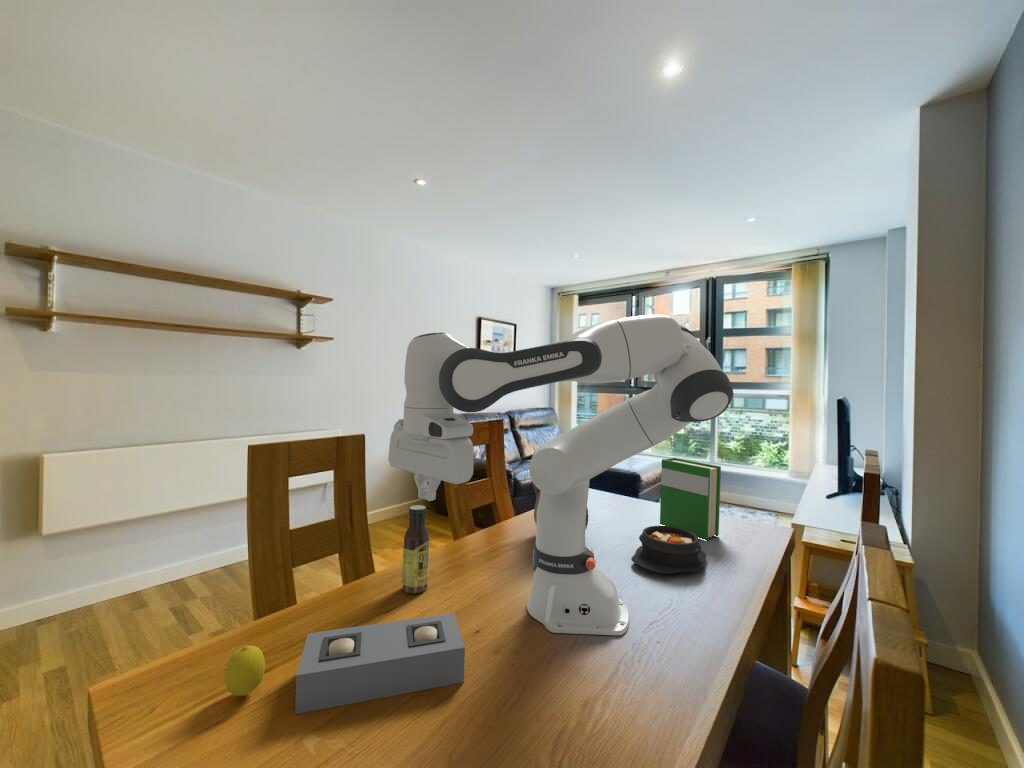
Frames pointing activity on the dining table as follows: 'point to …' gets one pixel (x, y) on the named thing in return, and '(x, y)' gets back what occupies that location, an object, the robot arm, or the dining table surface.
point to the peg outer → (341, 646)
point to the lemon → (244, 670)
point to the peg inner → (425, 633)
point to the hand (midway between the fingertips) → (426, 499)
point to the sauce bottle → (416, 552)
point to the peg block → (378, 662)
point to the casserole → (669, 550)
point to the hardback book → (690, 496)
